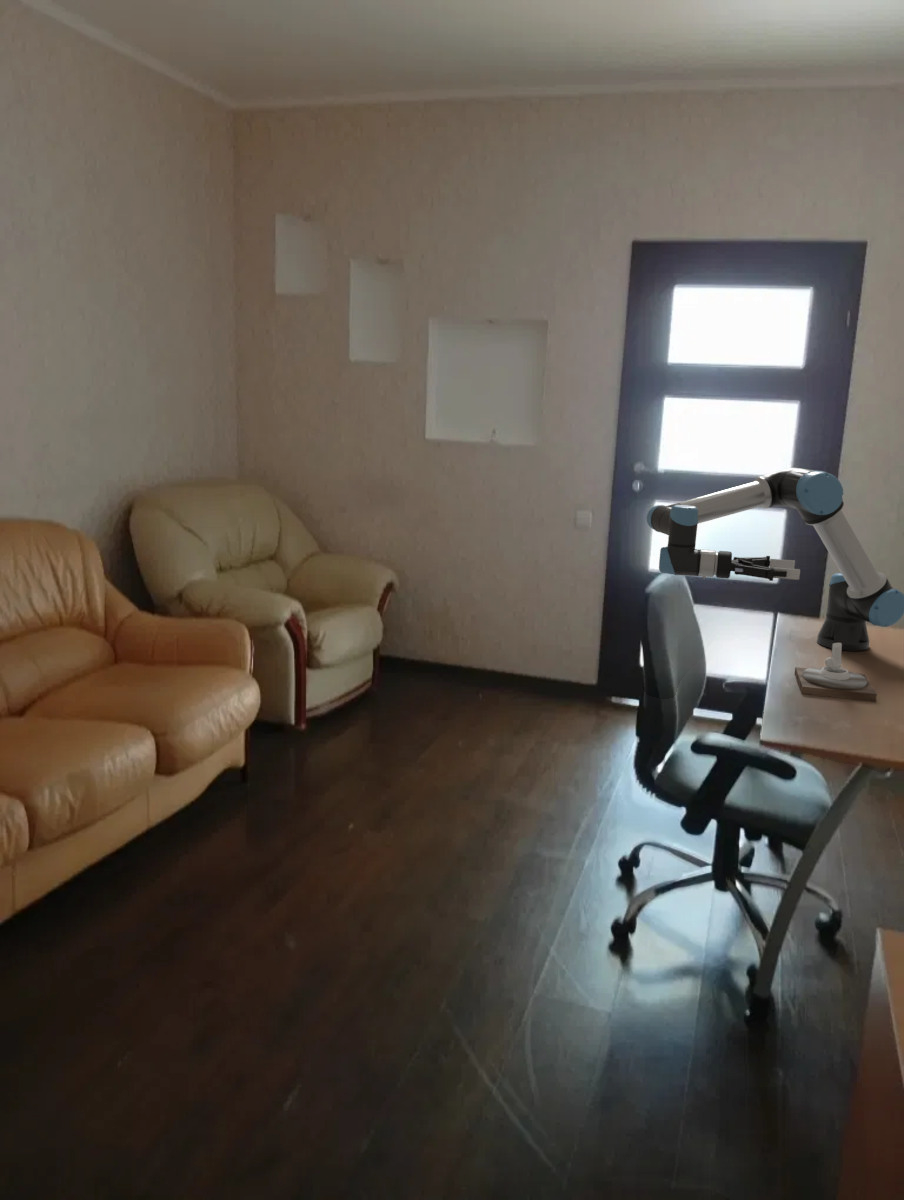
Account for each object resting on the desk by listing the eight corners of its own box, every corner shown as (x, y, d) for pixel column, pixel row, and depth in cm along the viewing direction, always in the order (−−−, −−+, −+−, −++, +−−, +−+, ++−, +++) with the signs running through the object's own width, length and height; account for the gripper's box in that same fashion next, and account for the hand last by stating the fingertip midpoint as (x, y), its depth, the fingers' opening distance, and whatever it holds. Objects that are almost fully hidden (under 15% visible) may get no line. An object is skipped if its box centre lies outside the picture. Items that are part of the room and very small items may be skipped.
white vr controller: (825, 664, 234) (818, 643, 239) (822, 691, 243) (815, 671, 247) (855, 660, 233) (847, 639, 238) (851, 687, 241) (844, 667, 246)
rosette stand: (794, 673, 253) (795, 663, 253) (863, 680, 249) (864, 670, 248) (801, 693, 236) (802, 682, 236) (875, 701, 232) (877, 690, 231)
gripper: (714, 569, 263) (790, 574, 258) (715, 586, 239) (800, 592, 234) (716, 543, 261) (793, 548, 256) (718, 558, 238) (803, 564, 233)
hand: (797, 569), depth 245 cm, fingers open, 13 cm apart
